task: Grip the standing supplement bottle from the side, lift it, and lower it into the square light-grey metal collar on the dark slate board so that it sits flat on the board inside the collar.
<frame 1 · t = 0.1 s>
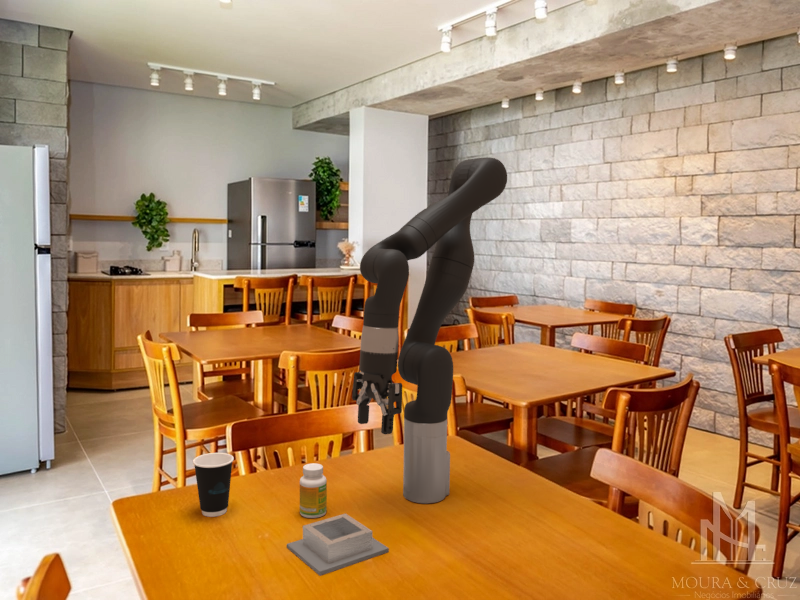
hand: (374, 428, 133), 17 cm above the table, tool pointing down, fingers open, 8 cm apart
dixie cup: (214, 512, 133), on the table
socket board: (337, 552, 118), on the table
supplement bottle: (313, 514, 133), on the table
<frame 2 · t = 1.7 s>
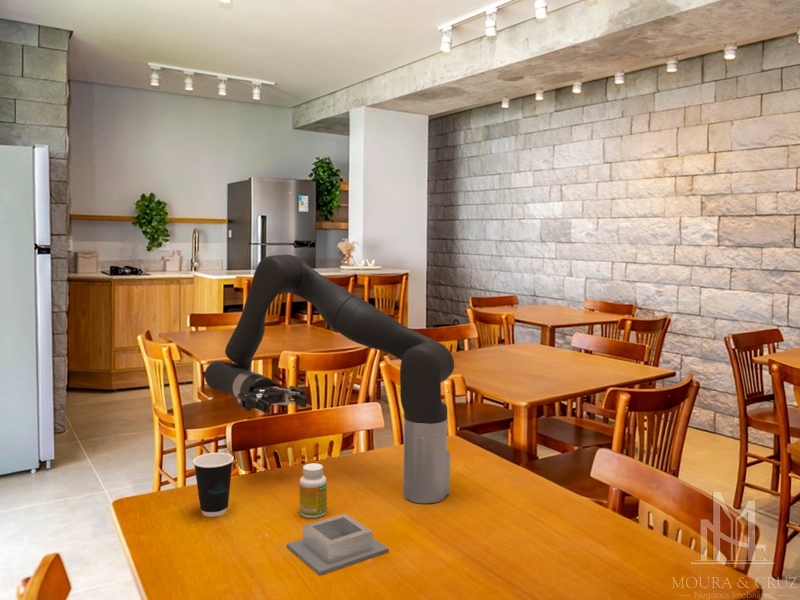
hand: (287, 405, 140), 20 cm above the table, tool horizontal, fingers open, 8 cm apart
nothing on the table moved.
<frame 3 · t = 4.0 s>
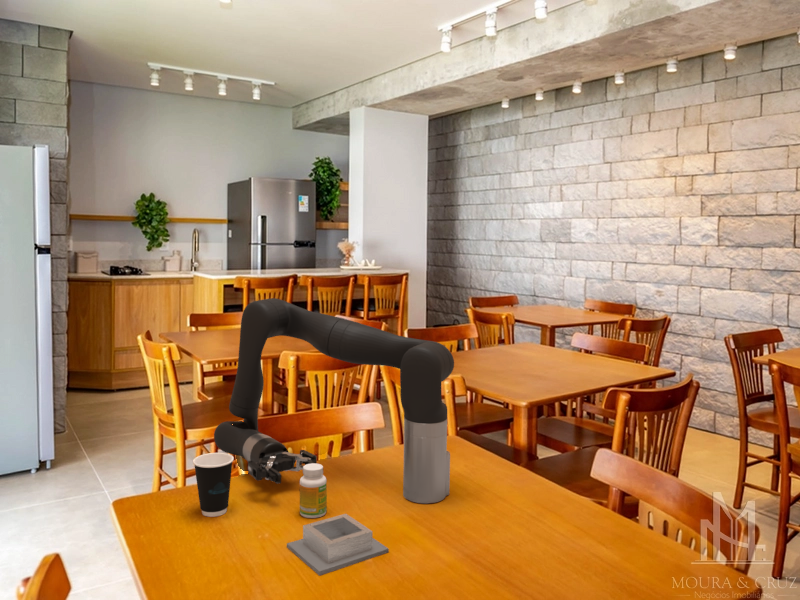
hand: (298, 474, 138), 6 cm above the table, tool horizontal, fingers open, 8 cm apart
nothing on the table moved.
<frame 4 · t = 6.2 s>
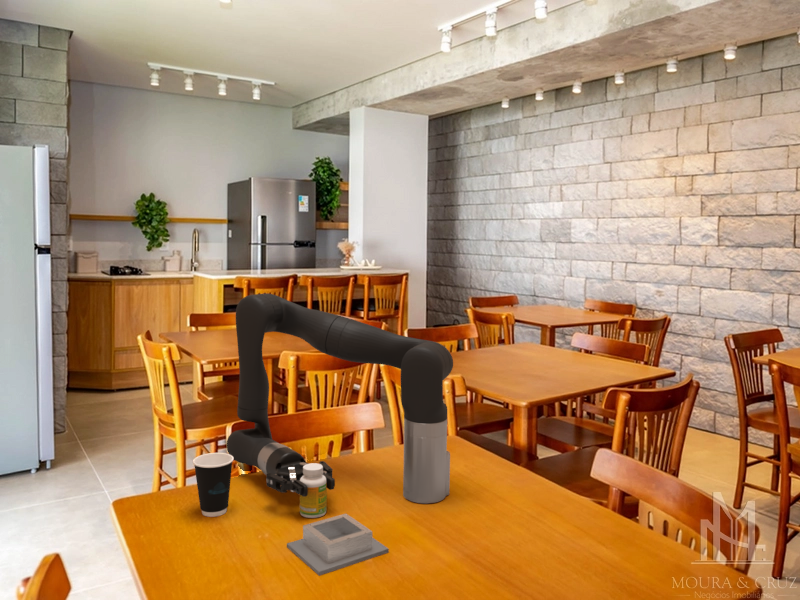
hand: (319, 488, 131), 6 cm above the table, tool horizontal, fingers closed on supplement bottle, 5 cm apart
supplement bottle: (313, 513, 133), on the table, touching gripper
everything else where it was.
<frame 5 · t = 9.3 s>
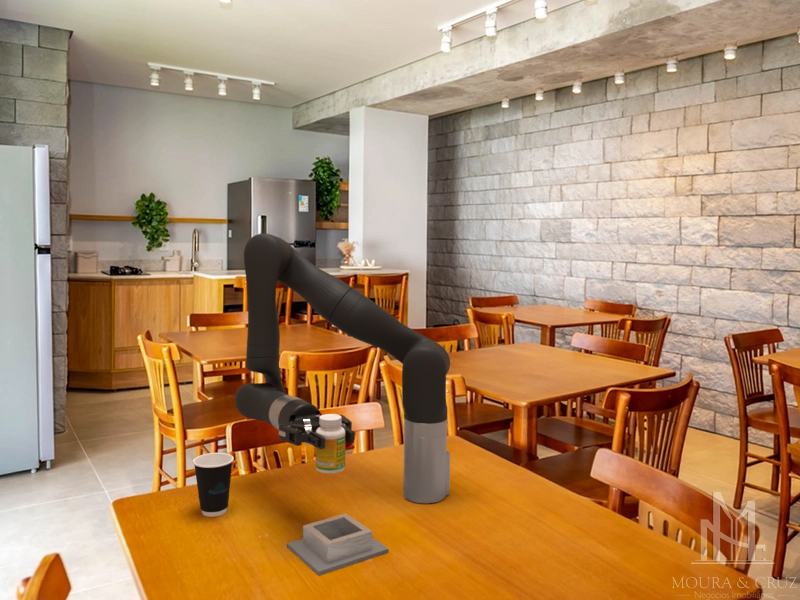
hand: (337, 440, 117), 20 cm above the table, tool horizontal, fingers closed on supplement bottle, 5 cm apart
supplement bottle: (330, 469, 120), point 14 cm above the table, touching gripper
everything else where it was.
when the fingers open (9 cm above the table, at t = 12.7 s): supplement bottle drops 3 cm, resting on socket board.
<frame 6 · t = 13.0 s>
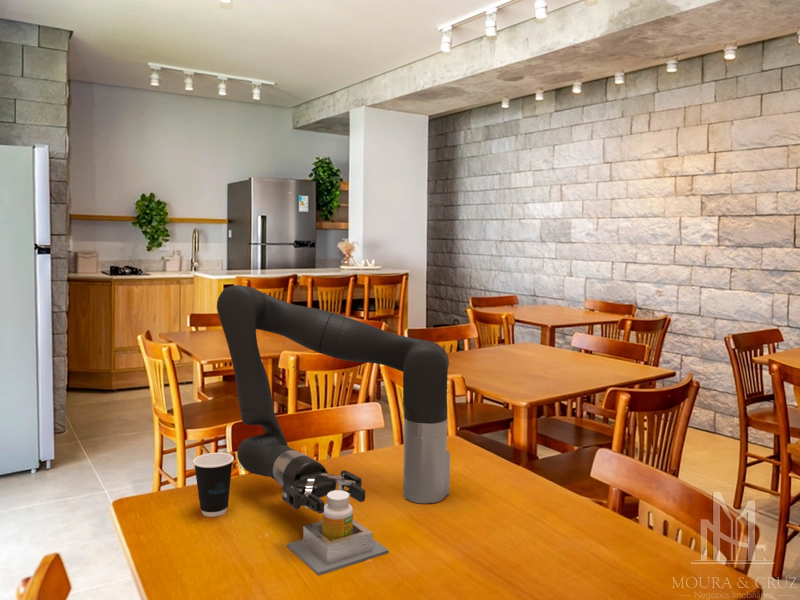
hand: (343, 502, 116), 10 cm above the table, tool horizontal, fingers open, 8 cm apart
socket board: (337, 553, 118), on the table, touching supplement bottle
supplement bottle: (336, 547, 118), resting on socket board
everything else where it was.
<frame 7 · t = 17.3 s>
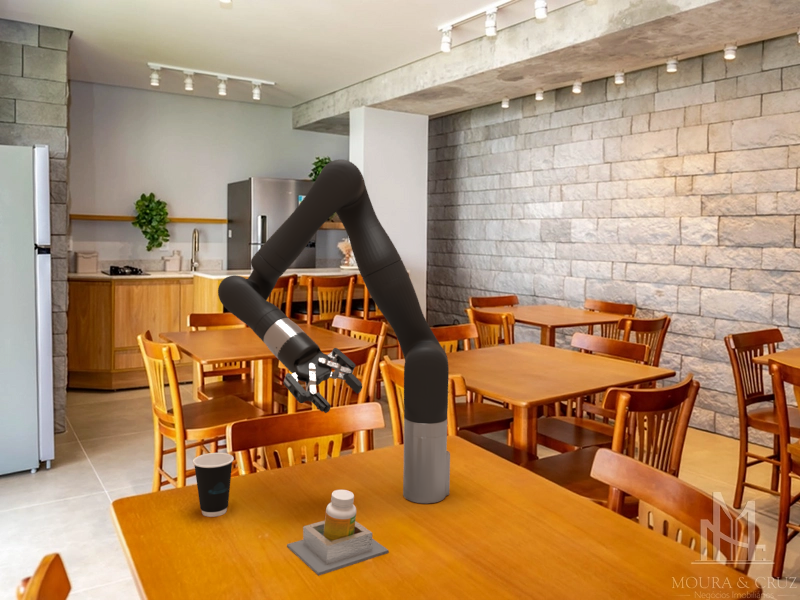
hand: (344, 399, 127), 24 cm above the table, tool tilted 55°, fingers open, 8 cm apart
nothing on the table moved.
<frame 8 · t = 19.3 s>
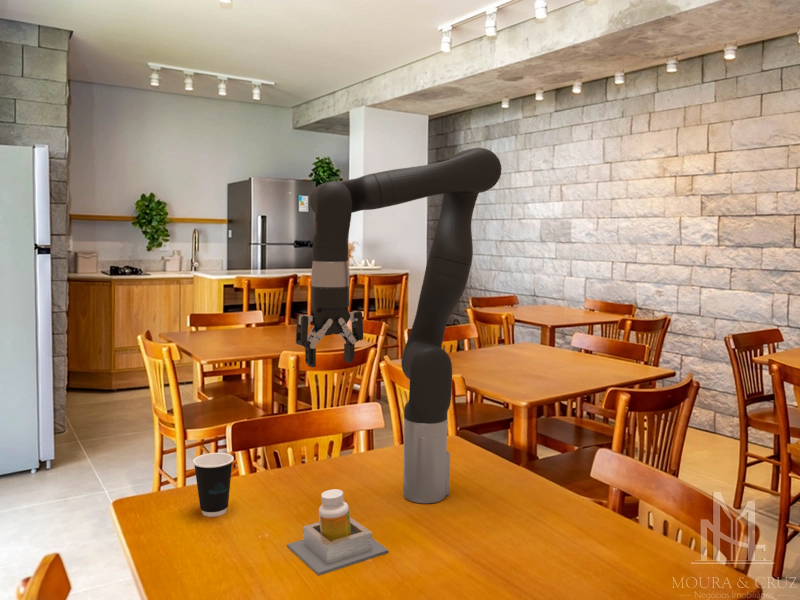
hand: (330, 364, 133), 30 cm above the table, tool pointing down, fingers open, 8 cm apart
at the end: supplement bottle 0.1 cm off-centre on the socket board, point 1.3 cm above the socket board's base; supplement bottle tilted 6°; the gripper is holding nothing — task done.
